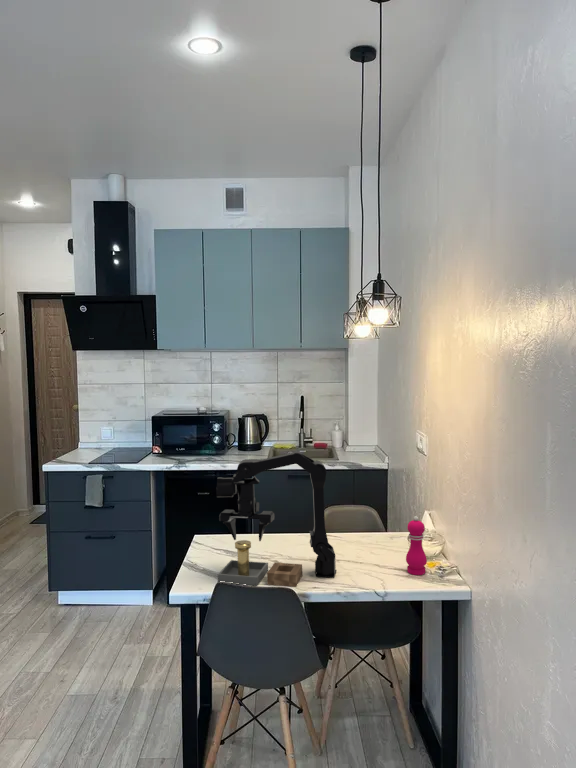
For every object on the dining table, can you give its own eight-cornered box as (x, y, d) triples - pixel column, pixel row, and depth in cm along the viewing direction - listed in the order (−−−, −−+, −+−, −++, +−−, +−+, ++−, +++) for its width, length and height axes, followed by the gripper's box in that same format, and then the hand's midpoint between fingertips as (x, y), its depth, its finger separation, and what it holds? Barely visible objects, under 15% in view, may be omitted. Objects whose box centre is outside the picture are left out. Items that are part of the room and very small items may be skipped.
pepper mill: (424, 568, 199) (424, 513, 199) (429, 575, 192) (428, 518, 191) (404, 568, 199) (403, 513, 199) (408, 576, 192) (407, 519, 192)
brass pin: (253, 572, 196) (252, 540, 195) (248, 578, 190) (248, 545, 190) (238, 571, 197) (237, 539, 197) (233, 577, 192) (232, 544, 191)
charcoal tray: (268, 570, 199) (268, 562, 199) (257, 586, 185) (257, 577, 185) (231, 568, 202) (231, 560, 202) (217, 583, 189) (217, 574, 188)
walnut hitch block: (302, 575, 194) (302, 564, 194) (296, 586, 184) (296, 575, 184) (274, 573, 196) (274, 562, 196) (267, 584, 187) (267, 572, 186)
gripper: (277, 491, 199) (278, 534, 200) (228, 490, 203) (229, 532, 204) (269, 499, 188) (271, 544, 189) (218, 497, 193) (219, 541, 193)
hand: (247, 540), depth 194 cm, fingers open, 9 cm apart
